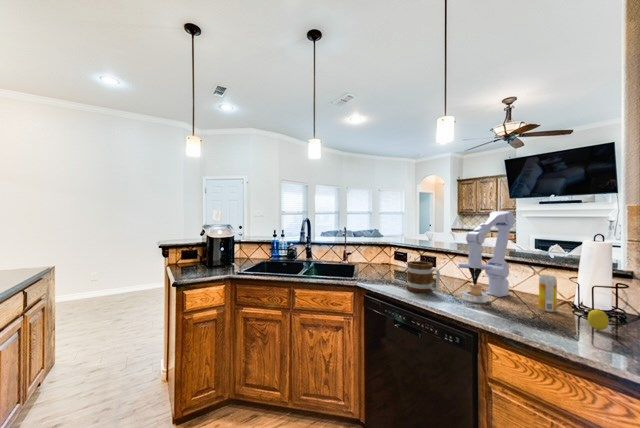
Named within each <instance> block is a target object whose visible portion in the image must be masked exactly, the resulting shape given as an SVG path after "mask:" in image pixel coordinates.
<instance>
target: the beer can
mask: <svg viewBox="0 0 640 428" xmlns="http://www.w3.org/2000/svg"><path fill="white" fill-rule="evenodd" d="M557 283H558V280H557V277H556V276H554V275H549V274H541V275H539V279H538V308H539V309H540V311H543V312H547V313H555V312H556V311H557V307H558V306H557V302H558V299H557V296H558V294H557V291H558V290H557V289H558V284H557Z"/></svg>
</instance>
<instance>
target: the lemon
mask: <svg viewBox="0 0 640 428" xmlns="http://www.w3.org/2000/svg"><path fill="white" fill-rule="evenodd" d="M609 321H610V319H609V317H608V315H607V313H606V312H604V311H603V310H601V309H600V308H596V309H591V310H590V311H588V314H587V322H588V324H589V325H590V327H592V329H595V330H596V331H597V330H598V332H600V331H603V330H605V329H607V328H608V326H609V324H610V322H609Z"/></svg>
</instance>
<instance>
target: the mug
mask: <svg viewBox="0 0 640 428" xmlns="http://www.w3.org/2000/svg"><path fill="white" fill-rule="evenodd" d="M406 263H407V273H406V279H407V284H406V286H407V287H406V290H407V291H408V292H410V293H415V294H419V293H420V294H422V295H423V293H427V294H431V293H433V292H437V291H438V290H439V288H440V279H441V278H440V277H441V273H440V269H438V268H437V267H436V268H435V267H434V268H433V266H434V263H432V262H429V261H423V260H421V261H420V260H417V261H416V260H415V261H414V260H410V261H408V262H406ZM434 271H435V273H436V277H435V287H433V280H434V274H433V272H434Z"/></svg>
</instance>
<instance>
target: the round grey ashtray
mask: <svg viewBox="0 0 640 428" xmlns="http://www.w3.org/2000/svg"><path fill="white" fill-rule="evenodd" d="M461 299H462V300H464V301H466V302H469V303H476V304H486V303H488V300H489V294H486V293H485V292H483V291H481V295H471V294H470V289H468V290H462V292H461Z"/></svg>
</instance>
